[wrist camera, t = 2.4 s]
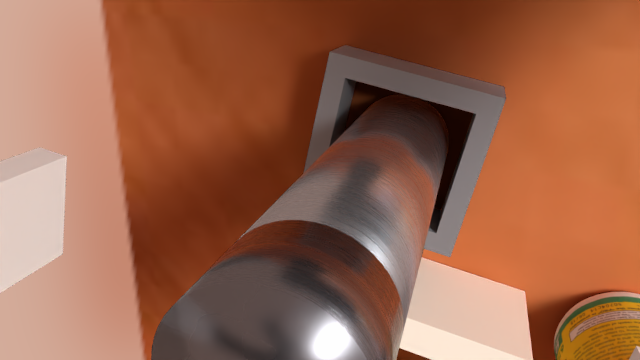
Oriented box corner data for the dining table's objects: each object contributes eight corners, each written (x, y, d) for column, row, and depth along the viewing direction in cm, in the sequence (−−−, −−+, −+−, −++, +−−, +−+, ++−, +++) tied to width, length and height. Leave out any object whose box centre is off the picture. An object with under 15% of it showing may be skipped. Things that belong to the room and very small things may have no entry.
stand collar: (345, 45, 23) (329, 51, 20) (504, 86, 22) (506, 98, 19) (313, 187, 25) (295, 206, 23) (453, 231, 24) (450, 257, 22)
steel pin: (367, 83, 23) (163, 249, 9) (461, 109, 22) (411, 337, 8) (346, 169, 25) (141, 434, 10) (433, 196, 24) (347, 522, 9)
